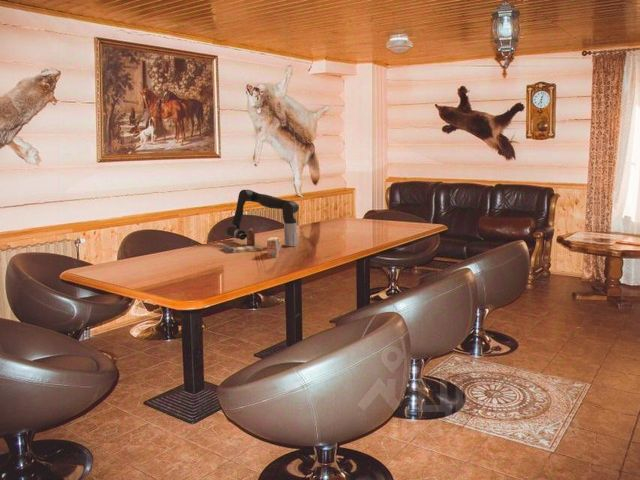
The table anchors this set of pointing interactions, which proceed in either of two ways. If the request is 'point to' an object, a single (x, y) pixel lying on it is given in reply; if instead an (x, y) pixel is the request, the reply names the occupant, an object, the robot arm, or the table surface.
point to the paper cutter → (241, 248)
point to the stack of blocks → (273, 247)
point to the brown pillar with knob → (250, 237)
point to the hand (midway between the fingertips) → (247, 237)
